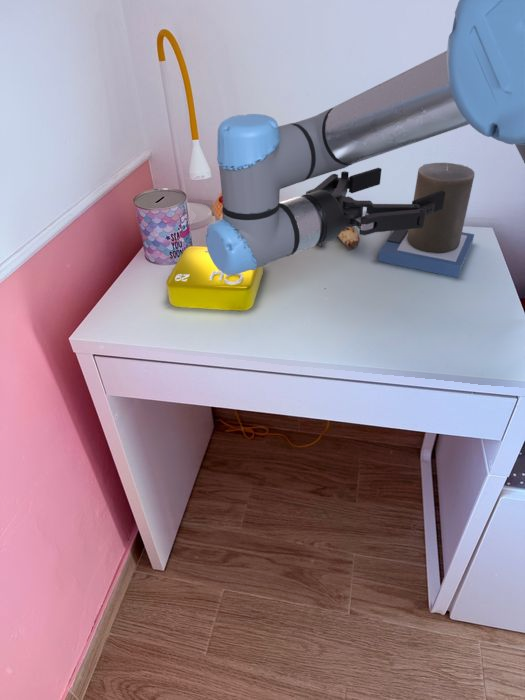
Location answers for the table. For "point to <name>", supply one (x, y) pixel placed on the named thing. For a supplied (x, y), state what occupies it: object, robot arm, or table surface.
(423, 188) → the pillar candle
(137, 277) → the table surface
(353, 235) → the brown forked curved piece
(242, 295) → the element tile
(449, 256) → the scale
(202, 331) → the table surface
